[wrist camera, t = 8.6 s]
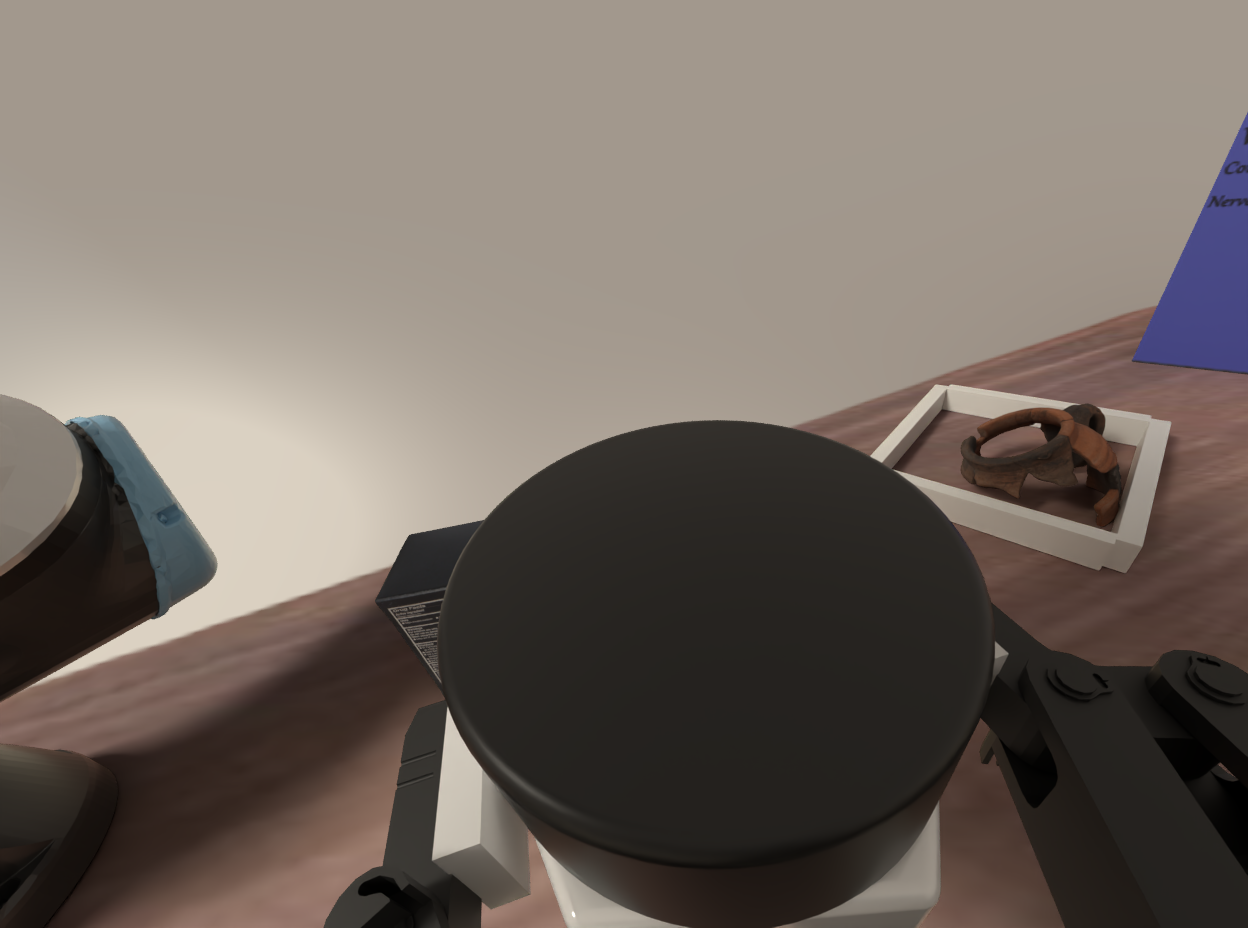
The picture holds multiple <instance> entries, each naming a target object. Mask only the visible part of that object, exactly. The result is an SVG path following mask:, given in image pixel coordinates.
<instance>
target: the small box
mask: <svg viewBox="0 0 1248 928" xmlns="http://www.w3.org/2000/svg"><path fill="white" fill-rule="evenodd" d="M483 521H484V520H482V521H477V522H472V523H467V524H462V525H457V526H452V527H447V528H442V529H437V530H432V531H426V532H421V533H417V534H411V535H409V536H408V538H407V540H406V541H405V543H404V545H403V547H402V549H401V550H400V552H399V555H398V556H397V559H396V561H395V562H394V564H393V566H392V569H391V570H390V572H389V574H388V576H387V578H386V580H385V582H384V584H383V586H382V588H381V590H380V592H379V594H378V596H377V598H376V600H375V602H376V604H377V605H378V606H379V608H380V609H381V610H382V611H383V612H384V613H385V614H386V616H387V617H388V618H389V619H390V621H392V623H393V624H394V626H395V627H396V628H397V630H398V631H399V632H400V633H401V635H402V637H403V638H404V639H405V641H406V643H407V644H408V645H409V647H410V648H411V649H412V651H413V652H414V654H415V655H416V656H417V658H418V659H419V661H420V662H421V663H422V665H423V666H424V667H425V668H426V670H427V672H428V673H429V675H430V676H431V677H432V678H433V680H434V681H435V683H436V684H437V686H438V688H439V689H440V690H441V692H442V694H443V695H444V693H443V689H442V684H441V679H440V674H439V669H438V657H437V634H438V622H439V616H440V611H441V605H442V602H443V598H444V595H445V591H446V588H447V585H448V582H449V579H450V577H451V574H452V572H453V569H454V567H455V565H456V563H457V561H458V559H459V557H460V555H461V553H462V551H463V549H464V548H465V546H466V545H467V543H468V542H469V540H470V539H471V537H472V535H473V534H474V533H475V531H476V530H477V529H478V528H479V526H480V525H481V524H482V522H483Z"/></svg>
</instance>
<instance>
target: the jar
mask: <svg viewBox="0 0 1248 928" xmlns="http://www.w3.org/2000/svg"><path fill="white" fill-rule="evenodd" d="M437 657H438V669H439V674H440V679H441V684H442V689H443V693H444V697H445V700H446V703H447V706H448V709H449V711H450V714H451V717H452V719H453V721H454V724H455V726H456V728H457V730H458V732H459V734H460V736H461V738H462V739H463V741H464V743H465V745H466V746H467V748H468V750H469V751H470V753H471V754H472V756H473V757H474V758H475V760H476V761H477V762H478V764H479V765H480V766H481V768H482V769H483V770H484V772H485V773H486V774H487V776H488V777H489V778H490V779H491V781H492V782H493V783H494V785H495V786H496V787H497V789H498V790H499V791H500V792H501V794H502V795H503V796H504V798H505V799H506V800H507V802H508V803H509V804H510V805H511V807H512V808H513V809H514V811H515V812H516V813H517V815H518V816H519V817H520V818H521V820H522V821H523V822H524V824H525V825H526V826H527V828H528V829H529V830H530V831H531V833H532V834H533V835H534V837H535V840H536V842H537V845H538V848H539V851H540V854H541V856H542V859H543V862H544V865H545V868H546V871H547V873H548V876H549V879H550V882H551V885H552V887H553V890H554V893H555V896H556V899H557V902H558V904H559V907H560V910H561V913H562V916H563V918H564V921H565V924H566V926H567V928H920V926H921V925H922V923H923V922H924V921H925V919H926V918H927V917H928V915H929V914H930V912H931V911H932V910H933V908H934V907H935V905H936V904H937V902H938V901H939V898H940V893H941V863H940V812H939V799H940V797H941V795H942V793H943V791H944V789H945V788H946V786H947V784H948V782H949V780H950V778H951V776H952V774H953V772H954V770H955V768H956V766H957V764H958V762H959V760H960V758H961V756H962V754H963V752H964V750H965V748H966V746H967V744H968V742H969V740H970V738H971V736H972V734H973V732H974V730H975V728H976V726H977V724H978V722H979V719H980V717H981V714H982V712H983V709H984V707H985V704H986V701H987V697H988V694H989V690H990V686H991V682H992V676H993V669H994V661H995V625H994V618H993V611H992V605H991V600H990V597H989V594H988V590H987V587H986V584H985V580H984V577H983V575H982V573H981V571H980V569H979V566H978V564H977V562H976V560H975V557H974V556H973V554H972V552H971V551H970V549H969V547H968V546H967V544H966V542H965V541H964V539H963V537H962V536H961V534H960V533H959V532H958V530H957V529H956V528H955V527H954V525H953V524H952V523H951V521H950V520H949V519H948V517H947V516H946V515H945V514H944V513H943V512H942V511H941V510H940V508H939V507H938V506H937V505H936V504H935V503H934V502H933V501H932V500H931V499H930V498H929V497H928V496H927V495H925V494H924V493H923V492H922V491H921V490H920V489H919V488H917V487H916V486H915V485H914V484H913V483H911V482H910V481H908V480H907V479H906V478H904V477H903V476H902V475H900V474H899V473H898V472H896V471H894V470H893V469H891V468H890V467H888V466H886V465H885V464H883V463H882V462H880V461H878V460H876V459H874V458H872V457H870V456H868V455H867V454H865V453H863V452H861V451H858V450H856V449H854V448H852V447H849V446H847V445H845V444H842V443H839V442H837V441H834V440H831V439H828V438H826V437H822V436H819V435H816V434H812V433H809V432H805V431H801V430H797V429H793V428H788V427H783V426H777V425H772V424H764V423H756V422H745V421H725V420H724V421H723V420H722V421H721V420H720V421H719V420H713V421H691V422H681V423H673V424H665V425H659V426H653V427H648V428H644V429H639V430H635V431H631V432H628V433H624V434H620V435H617V436H614V437H611V438H608V439H605V440H602V441H600V442H597V443H594V444H592V445H589V446H587V447H585V448H583V449H580V450H578V451H576V452H574V453H572V454H570V455H568V456H566V457H564V458H562V459H560V460H558V461H556V462H555V463H553V464H551V465H549V466H548V467H546V468H545V469H543V470H542V471H540V472H538V473H537V474H535V475H534V476H532V477H531V478H530V479H528V480H527V481H526V482H524V483H523V484H522V485H520V486H519V487H518V488H517V489H515V491H513V492H512V493H511V494H510V495H508V496H507V497H506V498H505V499H504V500H503V501H502V502H501V503H500V504H499V505H498V506H497V507H496V508H495V509H494V510H493V511H492V512H491V513H490V514H489V515H488V517H487V518H486V519H485V520H484V521H483V522H482V524H481V525H480V526H479V528H478V529H477V530H476V531H475V533H474V534H473V535H472V537H471V539H470V540H469V542H468V543H467V545H466V546H465V548H464V549H463V551H462V553H461V555H460V557H459V559H458V561H457V563H456V565H455V567H454V569H453V572H452V574H451V577H450V579H449V582H448V585H447V588H446V591H445V595H444V598H443V602H442V605H441V611H440V616H439V622H438V634H437Z"/></svg>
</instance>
